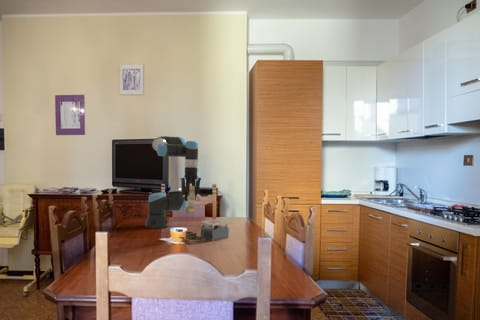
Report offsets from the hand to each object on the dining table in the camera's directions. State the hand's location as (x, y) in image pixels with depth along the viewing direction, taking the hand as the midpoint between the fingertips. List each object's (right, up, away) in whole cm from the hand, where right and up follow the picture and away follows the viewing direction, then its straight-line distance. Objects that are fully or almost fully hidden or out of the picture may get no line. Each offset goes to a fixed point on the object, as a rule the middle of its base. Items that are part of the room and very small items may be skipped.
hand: (190, 206), depth 187 cm
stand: (-1, -19, 0) cm, 19 cm away
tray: (+4, -19, -10) cm, 22 cm away
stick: (0, -4, 0) cm, 4 cm away
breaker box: (+14, -20, +1) cm, 24 cm away
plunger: (+15, -12, +1) cm, 19 cm away
